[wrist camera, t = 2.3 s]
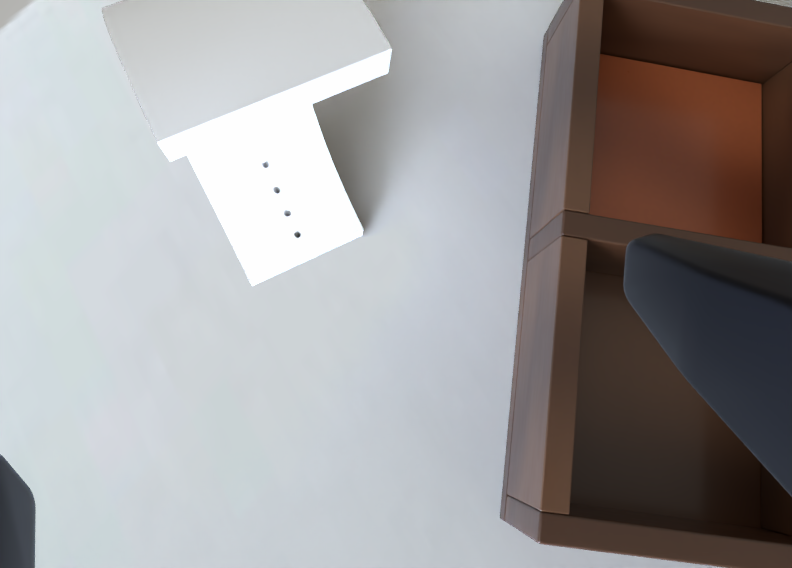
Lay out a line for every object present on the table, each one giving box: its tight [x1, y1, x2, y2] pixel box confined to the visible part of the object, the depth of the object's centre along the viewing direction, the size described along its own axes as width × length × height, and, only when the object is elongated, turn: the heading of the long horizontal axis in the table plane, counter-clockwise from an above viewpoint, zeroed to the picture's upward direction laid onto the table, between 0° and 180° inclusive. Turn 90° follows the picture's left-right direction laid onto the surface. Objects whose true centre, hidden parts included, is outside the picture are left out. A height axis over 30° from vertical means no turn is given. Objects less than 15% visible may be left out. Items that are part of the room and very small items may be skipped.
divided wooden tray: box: [500, 0, 792, 568], centre depth 21 cm, size 20×10×4 cm, turn 172°
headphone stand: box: [102, 0, 392, 286], centre depth 17 cm, size 5×6×12 cm
